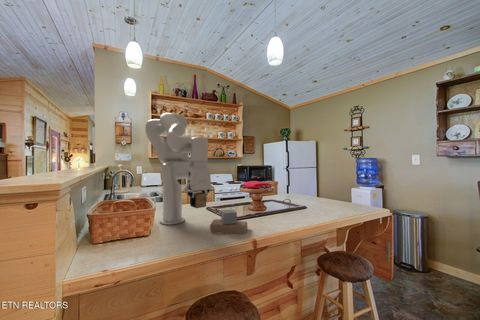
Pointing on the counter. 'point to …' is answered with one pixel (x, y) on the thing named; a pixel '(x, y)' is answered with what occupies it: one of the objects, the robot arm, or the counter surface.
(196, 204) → the walnut block
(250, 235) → the counter surface
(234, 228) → the brick
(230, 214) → the slate block
